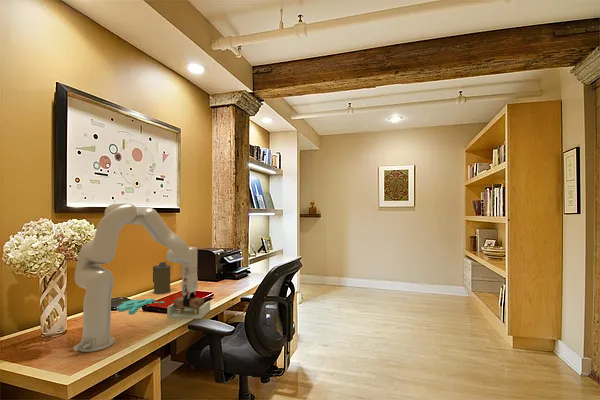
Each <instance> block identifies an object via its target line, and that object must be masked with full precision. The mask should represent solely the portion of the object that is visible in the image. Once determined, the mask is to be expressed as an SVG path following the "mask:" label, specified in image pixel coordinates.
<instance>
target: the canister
mask: <svg viewBox="0 0 600 400" xmlns="http://www.w3.org/2000/svg"><path fill="white" fill-rule="evenodd" d="M167 263H168V261H167V262H166V261H160V262H159V265H153V267H152V283H153V294H154V295H166V294H169V293H170V292H171V268H172V266H171V265H169V264H167Z"/></svg>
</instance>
